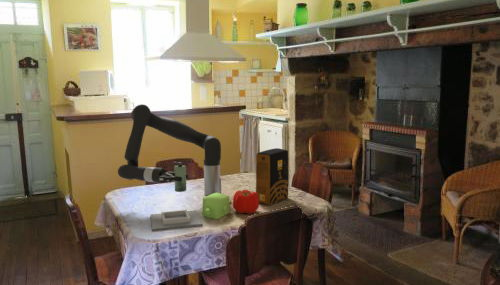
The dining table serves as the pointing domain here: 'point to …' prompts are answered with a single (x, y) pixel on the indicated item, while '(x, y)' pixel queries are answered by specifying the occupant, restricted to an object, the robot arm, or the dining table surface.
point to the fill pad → (175, 220)
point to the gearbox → (216, 205)
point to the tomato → (245, 201)
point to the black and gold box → (272, 176)
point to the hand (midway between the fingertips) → (184, 177)
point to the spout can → (180, 172)
